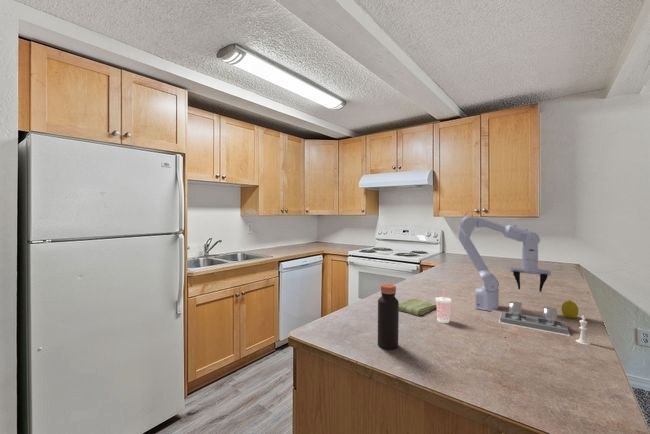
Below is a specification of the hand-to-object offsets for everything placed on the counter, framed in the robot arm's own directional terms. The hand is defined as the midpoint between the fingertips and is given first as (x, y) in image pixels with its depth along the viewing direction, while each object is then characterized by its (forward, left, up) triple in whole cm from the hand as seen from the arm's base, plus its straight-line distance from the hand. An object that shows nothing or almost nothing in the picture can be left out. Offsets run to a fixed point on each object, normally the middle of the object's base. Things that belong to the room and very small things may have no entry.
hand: (529, 290), depth 131 cm
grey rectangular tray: (+1, -17, -10) cm, 20 cm away
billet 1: (-5, -17, -9) cm, 20 cm away
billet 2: (+6, -17, -9) cm, 20 cm away
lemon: (+14, +1, -11) cm, 17 cm away
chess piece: (+15, -27, -11) cm, 33 cm away
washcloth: (-43, -22, -11) cm, 50 cm away
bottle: (-39, -65, -11) cm, 77 cm away
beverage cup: (-29, -31, -11) cm, 44 cm away
